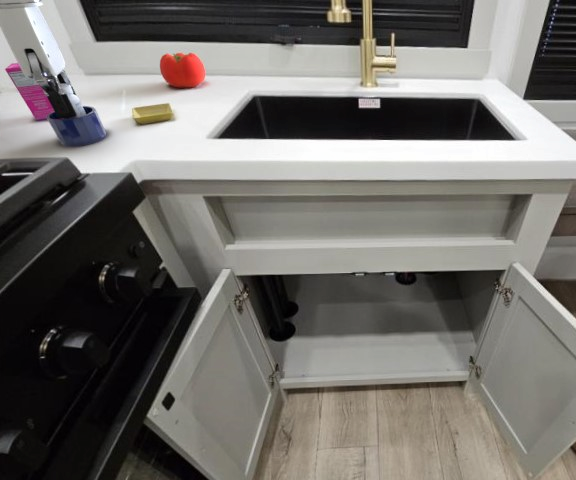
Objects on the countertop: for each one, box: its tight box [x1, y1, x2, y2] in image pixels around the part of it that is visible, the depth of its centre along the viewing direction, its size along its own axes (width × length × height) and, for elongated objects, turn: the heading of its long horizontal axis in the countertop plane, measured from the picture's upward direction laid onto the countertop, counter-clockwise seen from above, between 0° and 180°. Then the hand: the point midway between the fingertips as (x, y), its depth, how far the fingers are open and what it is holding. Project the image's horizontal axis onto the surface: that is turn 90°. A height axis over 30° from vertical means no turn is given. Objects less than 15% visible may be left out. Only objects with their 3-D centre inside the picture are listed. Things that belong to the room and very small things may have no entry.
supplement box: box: [4, 62, 54, 122], centre depth 76 cm, size 6×6×12 cm
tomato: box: [159, 52, 206, 89], centre depth 97 cm, size 13×12×8 cm
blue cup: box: [46, 105, 107, 147], centre depth 67 cm, size 9×9×6 cm
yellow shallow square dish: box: [131, 102, 174, 125], centre depth 77 cm, size 9×9×2 cm
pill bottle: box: [60, 84, 86, 119], centre depth 65 cm, size 5×5×8 cm
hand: (70, 111), depth 65 cm, fingers closed on pill bottle, 4 cm apart
